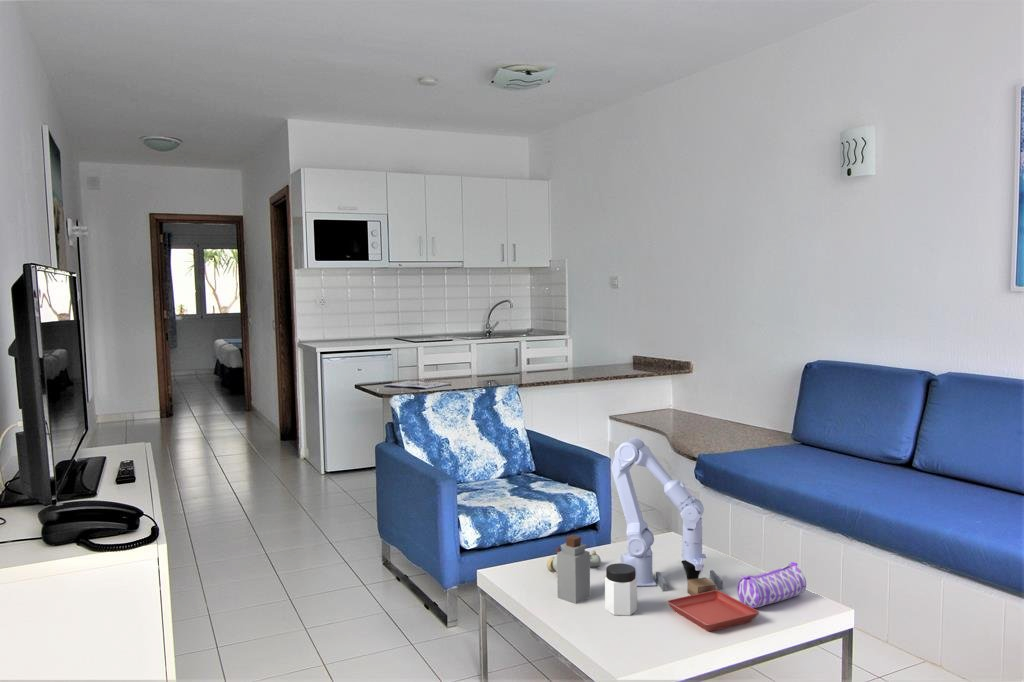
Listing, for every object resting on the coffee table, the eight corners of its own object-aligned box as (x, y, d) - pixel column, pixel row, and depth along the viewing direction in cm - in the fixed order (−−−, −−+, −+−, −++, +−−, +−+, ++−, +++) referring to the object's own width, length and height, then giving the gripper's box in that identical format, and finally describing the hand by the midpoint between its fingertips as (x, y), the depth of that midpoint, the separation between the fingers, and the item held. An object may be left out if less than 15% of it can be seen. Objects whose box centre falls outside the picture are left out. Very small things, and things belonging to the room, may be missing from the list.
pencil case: (783, 587, 233) (783, 556, 232) (810, 597, 225) (810, 565, 224) (733, 604, 220) (733, 572, 220) (760, 615, 213) (760, 582, 212)
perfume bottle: (590, 596, 227) (589, 536, 226) (575, 603, 222) (575, 542, 221) (572, 590, 232) (571, 532, 230) (557, 597, 227) (557, 537, 225)
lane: (663, 591, 230) (663, 583, 230) (655, 579, 239) (655, 572, 239) (722, 589, 231) (722, 581, 231) (713, 577, 240) (713, 570, 240)
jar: (642, 613, 215) (642, 570, 214) (617, 618, 212) (617, 576, 211) (624, 601, 223) (624, 560, 222) (600, 606, 220) (599, 565, 219)
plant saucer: (665, 611, 217) (665, 599, 217) (716, 599, 225) (717, 588, 224) (707, 637, 201) (707, 624, 200) (761, 624, 208) (761, 612, 208)
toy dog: (605, 566, 252) (604, 539, 252) (572, 584, 238) (572, 555, 237) (573, 558, 260) (573, 532, 259) (540, 575, 246) (540, 547, 245)
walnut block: (697, 600, 223) (697, 587, 223) (687, 592, 229) (687, 579, 229) (716, 598, 225) (716, 584, 225) (705, 590, 231) (705, 577, 230)
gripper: (713, 548, 223) (713, 594, 224) (698, 532, 238) (698, 576, 239) (689, 549, 223) (689, 595, 224) (675, 533, 237) (675, 576, 238)
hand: (692, 585), depth 231 cm, fingers closed
